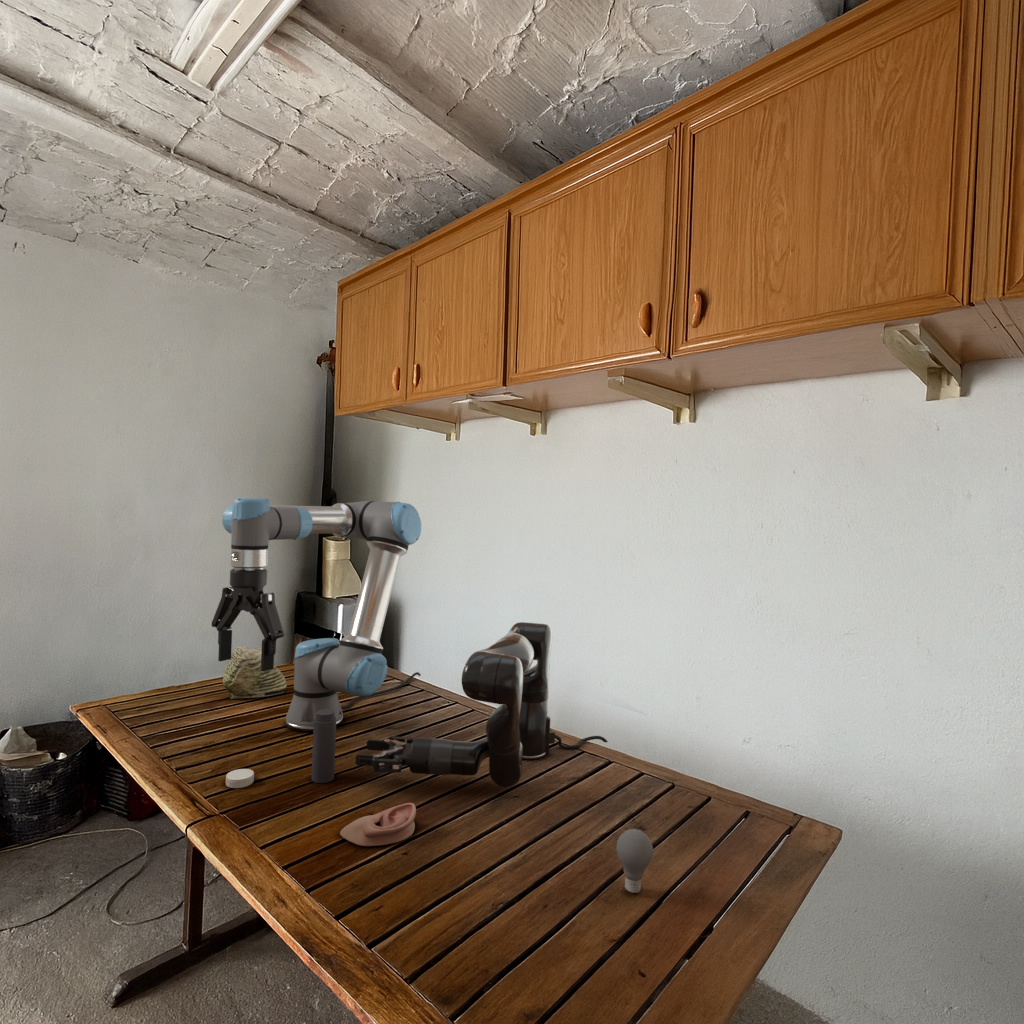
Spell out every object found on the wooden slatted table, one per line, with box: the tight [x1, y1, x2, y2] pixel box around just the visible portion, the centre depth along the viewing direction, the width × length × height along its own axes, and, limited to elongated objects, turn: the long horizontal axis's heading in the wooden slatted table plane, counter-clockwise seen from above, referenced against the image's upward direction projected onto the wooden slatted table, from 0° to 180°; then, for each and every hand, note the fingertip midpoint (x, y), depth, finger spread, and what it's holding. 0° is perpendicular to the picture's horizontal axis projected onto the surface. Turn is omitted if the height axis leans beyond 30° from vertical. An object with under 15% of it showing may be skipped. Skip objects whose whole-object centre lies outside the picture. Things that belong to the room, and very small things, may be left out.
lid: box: [225, 768, 255, 789], centre depth 139 cm, size 6×6×2 cm
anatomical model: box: [339, 802, 417, 847], centre depth 121 cm, size 13×4×12 cm
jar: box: [311, 709, 337, 784], centre depth 142 cm, size 5×5×15 cm
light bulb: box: [615, 828, 654, 894], centre depth 106 cm, size 6×6×10 cm
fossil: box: [222, 646, 288, 699], centre depth 198 cm, size 9×18×15 cm, turn 132°
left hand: (245, 665), depth 139 cm, fingers open, 13 cm apart
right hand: (361, 751), depth 142 cm, fingers open, 8 cm apart
